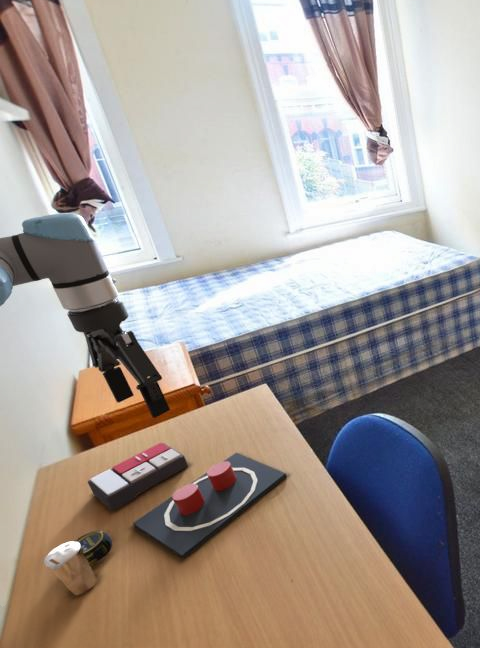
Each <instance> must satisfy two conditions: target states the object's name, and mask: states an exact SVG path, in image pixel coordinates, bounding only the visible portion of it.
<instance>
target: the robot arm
mask: <svg viewBox="0 0 480 648" xmlns="http://www.w3.org/2000/svg"><path fill="white" fill-rule="evenodd" d="M21 226H22V233H18V234H13V235H10V236H9V235H8V236H3V237H0V307H2V306H3V305H4V304H5V303H6V301H7V300H8V299H9V298H10V297H11V294H12V293H13V289H14V287H15V286H20V285H24V284H29V283H34V282H38V281H41V280H46V279H48V280H49V281H50V283H51V286H52V288H53V290H54V292H55V294H56V296H57V298H58V300H59V302H60V305H61V306H62V308H63V309H64V310H67V313H66V315H67V317H68V319H69V321H70V323H71V325H72V327H73V329H74V330H75V331H76V332H78V333H83V335H84V337H85V341H86V345H87V348H88V352H89V355H90V360H91V362H92V366H93V367H94V368H96V369H98V371H99V372H100V373H102V376H103V378H104V380H105V381H106V384H107V385H108V388H109V390H110V391H111V393H112V396H113V397H114V399H115V402H116V403H118V404H120V403H121V402H124V401H125V400H128V399H130V398H133V397H134V396H135V395H134V393H133V390H132V388H131V386H130V384H129V382H128V380H127V378H126V376H125V373H124V371H123V369H122V367H121V365H122V366H124V368H125V369H126V370H127V371H128V372H129V375H131V376H132V377H133V379H134V380H135V381H136V382H137V383H138V384H137V385H136V387H135V389H136V390H137V391H139V392H140V394H141V396H142V398H143V401H144V403H145V404H146V407H147V409H148V411H149V414H150V415H151V417H152V418H153V419H155V418H157V417H160V416H162V415H164V414H166V413H167V412H170V411H171V409H170V406H169V404H168V401H167V400H166V396H165V395H164V393H163V390H162V389H161V386H160V384H159V382H160V381H161V380H163V377H162V375H161V374H160V372H159V371H158V369H157V368H156V366H155V365H154V363H153V362H152V360H151V359H150V358H149V355H147V353H146V352H145V350H144V349H143V347H142V346H141V345H140V343H139V342H138V339H137V338H136V336H135V332H134V331H132V330H128V331H126V330H125V329H123V328H122V327H121V324H122V323H123V322H125V321H126V320H127V319H128V318H129V313H128V310H127V309H126V306H125V304H124V302H123V300H122V299H121V298H119V297H118V296H119V292H118V289H117V287H116V285H115V284H116V283H117V280H116V278H115V277H112V276H111V275H110V272H109V270H108V268H107V264H106V263H105V260H104V258H103V256H102V254H101V251H100V249H99V246H98V244H97V243H96V239H95V237H94V235H93V234H92V232H91V230H90V228H89V226H88V224H87V222H86V220H85V219H84V217H82V215H79V214H78V213H75V212H61V213H55V214H54V213H53V214H47V215H42V216H36V217H32V218H28V219H25V220H23V221H22V223H21Z"/></svg>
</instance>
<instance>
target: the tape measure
mask: <svg viewBox="0 0 480 648" xmlns="http://www.w3.org/2000/svg"><path fill="white" fill-rule="evenodd" d="M73 542H79V543H80V545H81V548H82V550H83V552H84V555H85V557H86V559H87V561H88V563H89V565H90V567H92V566H94V565H96V564H98V563H99V562H101V561H102V560H103V559H105V557H107V555H108V554H109V553H110V552H111V550H112V548H113V542H114V541H113V539H112V537H111V536H110V534H109V533H108V532H106V531H104V530H100V529H97V530H93V531H90V532H89V531H88V532H87V533H85V534H83V535H81V536H79V537H78V538H76V539H75V540H73Z"/></svg>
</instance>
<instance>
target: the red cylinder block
mask: <svg viewBox="0 0 480 648" xmlns="http://www.w3.org/2000/svg"><path fill="white" fill-rule="evenodd" d="M172 496H173V497H172ZM172 496H171V497H172V498H173V500H174V502H175V504H176V506H177V508H178V510H179V512H180V514H182V515H189V514H192V513H194V512H196V511H198V510H199V509H200V508H201V507H202V506H203V505H204V503H205V500H204V498H203V496H202V494H201V492H200V490H199V488H198V486H197V485H196V484H191V483H188V484H186V485H183V486H181V487H180V488H178V489H177V490H176V491H175V492H174V493H173V495H172Z"/></svg>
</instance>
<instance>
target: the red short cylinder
mask: <svg viewBox="0 0 480 648" xmlns="http://www.w3.org/2000/svg"><path fill="white" fill-rule="evenodd" d="M206 473H207V475H208V477H209V479H210V481H211V484H212V486H213V488H214V490H217V491H220V490H224V489H227V488H229V487H230V486H232V485H233V484H234V483H235V481H236V476H235V473H234V471H233V469H232V466H231V464H230V463H229V462H223V461H221V462H218V463H215V464H214V465H212V466H211V467H210V468H209V469H208V470H207V472H206Z"/></svg>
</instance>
